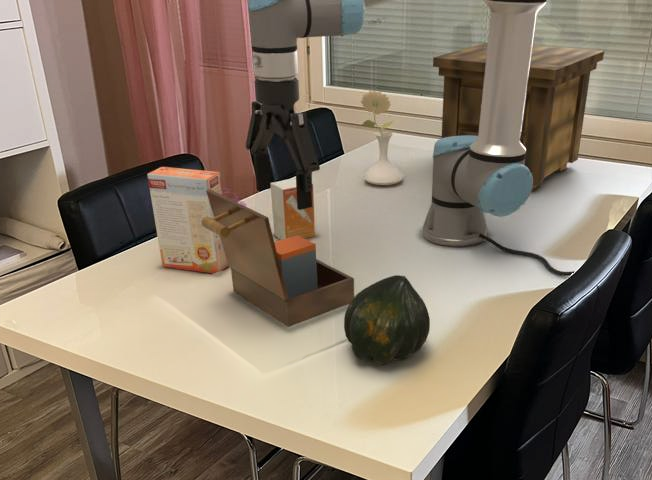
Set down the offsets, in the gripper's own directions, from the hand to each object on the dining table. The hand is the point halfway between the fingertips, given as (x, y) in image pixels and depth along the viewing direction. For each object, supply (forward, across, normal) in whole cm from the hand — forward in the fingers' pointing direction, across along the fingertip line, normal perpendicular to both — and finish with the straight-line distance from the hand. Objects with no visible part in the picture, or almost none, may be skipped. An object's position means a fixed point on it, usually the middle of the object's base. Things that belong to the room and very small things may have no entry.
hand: (283, 198), depth 134 cm
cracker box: (+21, -26, -7) cm, 34 cm away
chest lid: (+6, +1, -9) cm, 11 cm away
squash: (+21, +28, +1) cm, 35 cm away
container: (+20, +1, 0) cm, 20 cm away
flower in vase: (+20, -45, +62) cm, 80 cm away
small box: (+21, -27, +20) cm, 39 cm away
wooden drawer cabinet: (+20, -28, +98) cm, 104 cm away
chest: (+20, +1, 0) cm, 21 cm away
